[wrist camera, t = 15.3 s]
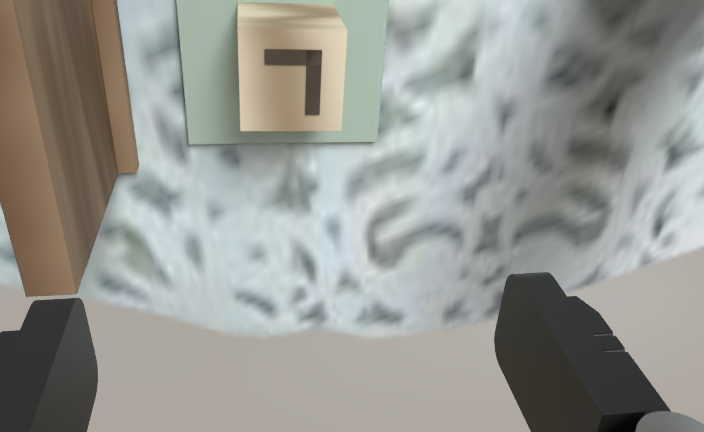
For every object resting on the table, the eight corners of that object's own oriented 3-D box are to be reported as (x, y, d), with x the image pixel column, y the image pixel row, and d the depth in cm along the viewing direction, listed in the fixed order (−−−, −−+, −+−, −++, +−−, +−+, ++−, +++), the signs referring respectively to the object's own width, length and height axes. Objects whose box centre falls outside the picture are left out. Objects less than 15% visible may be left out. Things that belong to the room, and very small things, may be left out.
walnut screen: (102, -102, 30) (33, -63, 20) (138, 164, 37) (101, 292, 27) (11, -106, 29) (-109, -67, 19) (66, 166, 36) (0, 297, 26)
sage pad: (391, -57, 33) (393, -56, 32) (375, 138, 38) (376, 141, 38) (171, -65, 31) (170, -64, 31) (189, 140, 37) (188, 144, 36)
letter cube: (333, 4, 33) (347, 31, 29) (329, 94, 36) (341, 131, 32) (237, 1, 33) (237, 28, 28) (240, 94, 35) (240, 132, 31)
